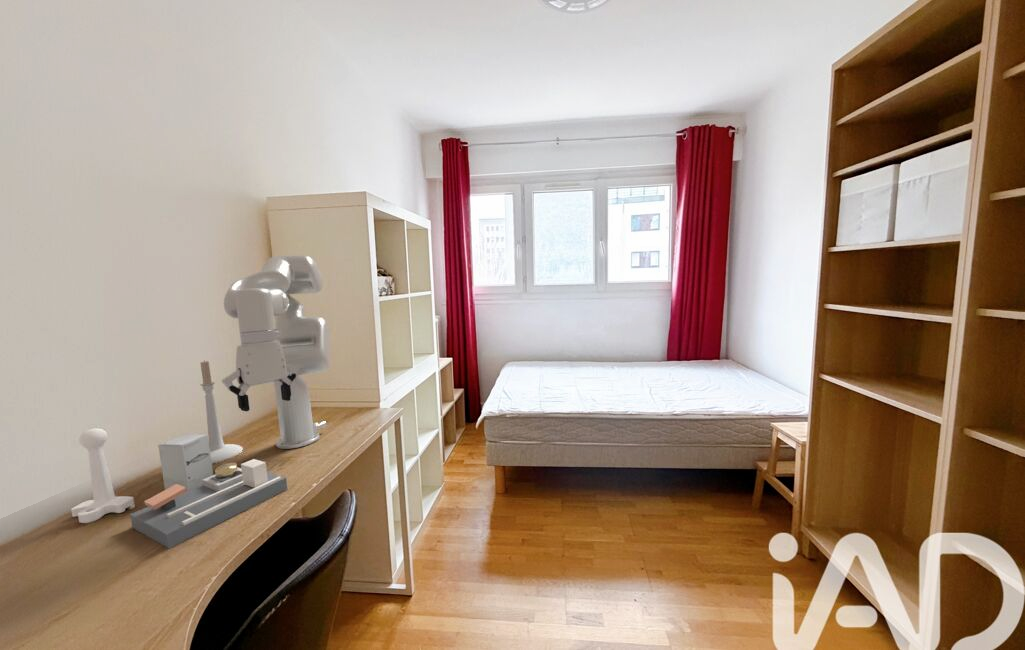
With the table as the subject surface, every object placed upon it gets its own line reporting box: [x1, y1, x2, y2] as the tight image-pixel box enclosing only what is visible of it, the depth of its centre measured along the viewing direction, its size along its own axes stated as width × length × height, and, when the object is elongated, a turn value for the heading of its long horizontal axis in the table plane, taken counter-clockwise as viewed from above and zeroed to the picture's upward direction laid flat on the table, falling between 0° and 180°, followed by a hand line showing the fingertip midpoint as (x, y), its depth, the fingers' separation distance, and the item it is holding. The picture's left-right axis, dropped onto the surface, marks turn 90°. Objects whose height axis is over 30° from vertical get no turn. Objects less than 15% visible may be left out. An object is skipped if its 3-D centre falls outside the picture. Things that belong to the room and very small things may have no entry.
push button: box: [214, 462, 238, 479], centre depth 97 cm, size 4×4×2 cm
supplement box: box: [158, 433, 214, 491], centre depth 103 cm, size 7×7×13 cm
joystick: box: [70, 427, 136, 524], centre depth 90 cm, size 11×8×20 cm
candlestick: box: [200, 360, 244, 465], centre depth 120 cm, size 13×13×30 cm
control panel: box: [129, 466, 288, 549], centre depth 92 cm, size 24×17×4 cm
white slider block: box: [240, 458, 268, 488], centre depth 95 cm, size 3×5×5 cm, turn 62°
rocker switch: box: [144, 484, 187, 510], centre depth 87 cm, size 6×4×1 cm
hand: (266, 405), depth 100 cm, fingers open, 9 cm apart
